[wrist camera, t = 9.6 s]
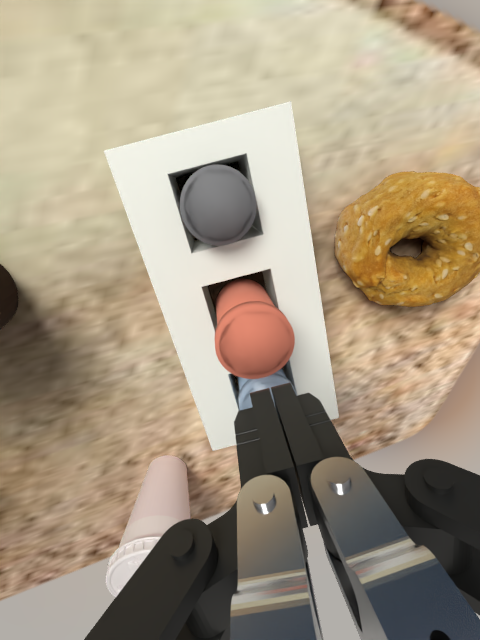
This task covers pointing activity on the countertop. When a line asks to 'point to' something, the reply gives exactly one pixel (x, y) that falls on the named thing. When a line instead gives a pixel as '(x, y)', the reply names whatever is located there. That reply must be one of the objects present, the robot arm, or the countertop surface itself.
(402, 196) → the bagel
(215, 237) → the charcoal plug
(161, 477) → the smoothie
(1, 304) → the coffee mug
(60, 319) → the countertop surface
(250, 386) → the slate plug
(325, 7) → the countertop surface
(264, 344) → the brick plug
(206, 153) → the socket block
